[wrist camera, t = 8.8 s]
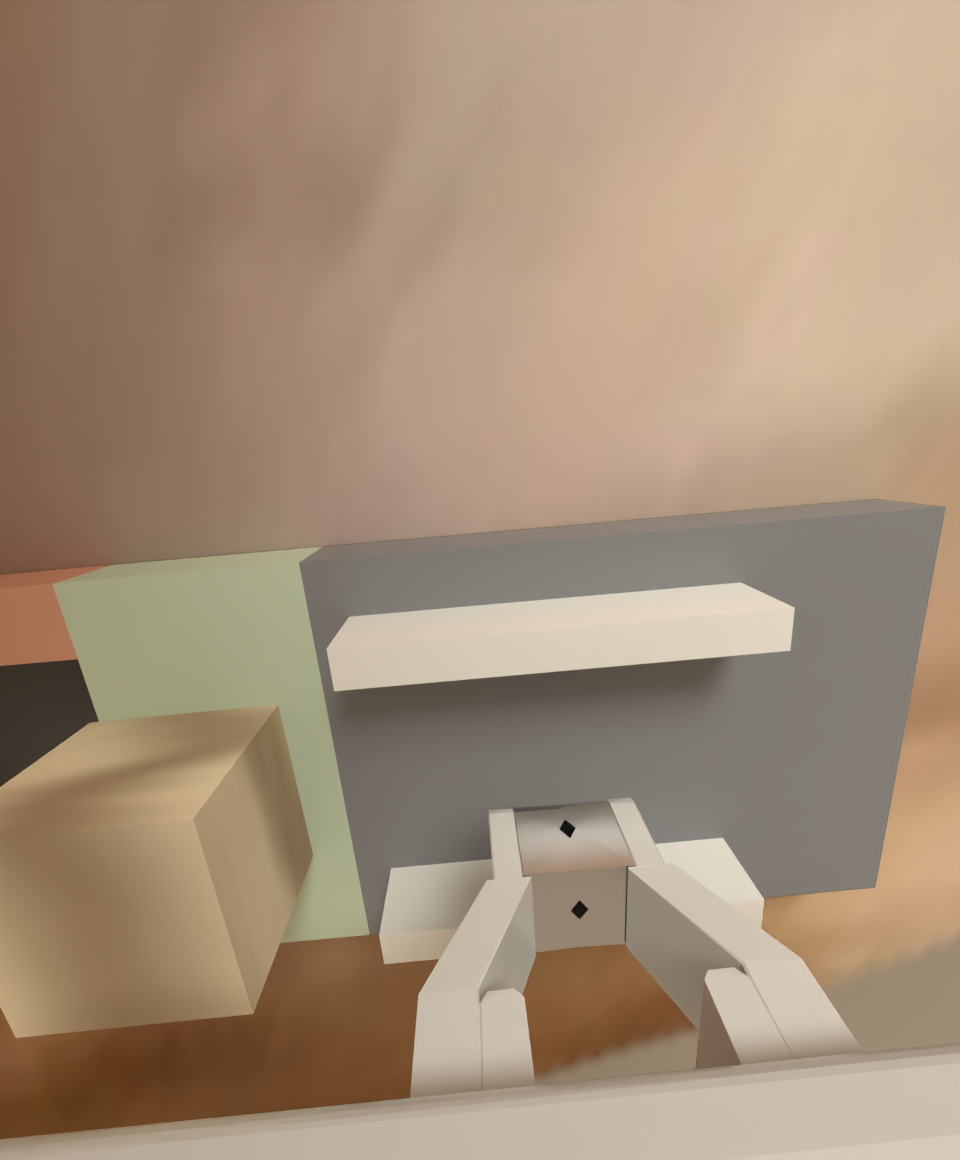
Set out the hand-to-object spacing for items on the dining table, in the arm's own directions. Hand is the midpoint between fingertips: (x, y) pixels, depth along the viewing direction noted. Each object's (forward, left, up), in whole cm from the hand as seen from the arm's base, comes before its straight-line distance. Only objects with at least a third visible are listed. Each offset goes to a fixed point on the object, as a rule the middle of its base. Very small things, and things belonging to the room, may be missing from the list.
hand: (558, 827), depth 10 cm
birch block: (-7, -7, -3) cm, 10 cm away
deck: (-3, -4, -5) cm, 7 cm away
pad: (-6, -6, -5) cm, 10 cm away
